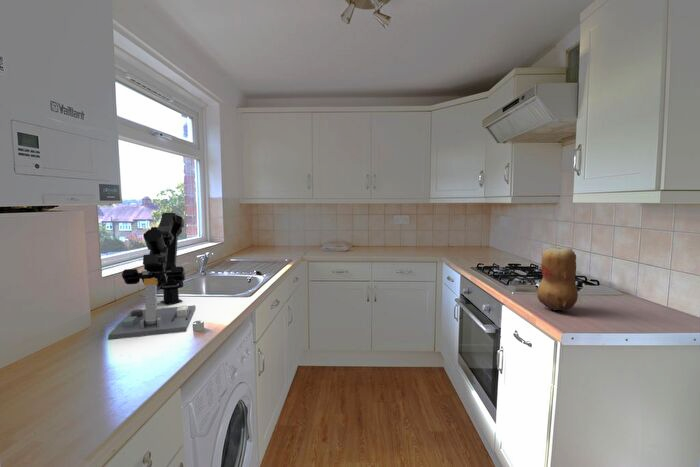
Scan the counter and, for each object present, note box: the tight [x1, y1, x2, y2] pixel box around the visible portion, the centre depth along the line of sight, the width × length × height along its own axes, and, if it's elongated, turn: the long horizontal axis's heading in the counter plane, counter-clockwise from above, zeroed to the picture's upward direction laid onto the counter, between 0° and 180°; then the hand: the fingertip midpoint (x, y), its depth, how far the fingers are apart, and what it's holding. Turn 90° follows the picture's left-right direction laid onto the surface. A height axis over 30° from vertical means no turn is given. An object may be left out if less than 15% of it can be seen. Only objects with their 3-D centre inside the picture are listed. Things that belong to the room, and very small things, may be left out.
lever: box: [143, 278, 158, 326], centre depth 112 cm, size 2×4×16 cm, turn 108°
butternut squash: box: [536, 246, 579, 312], centre depth 131 cm, size 14×13×25 cm
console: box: [107, 305, 196, 340], centre depth 120 cm, size 24×22×4 cm
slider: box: [177, 308, 187, 317], centre depth 122 cm, size 2×3×2 cm, turn 107°
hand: (151, 296), depth 113 cm, fingers closed, pressing on lever
